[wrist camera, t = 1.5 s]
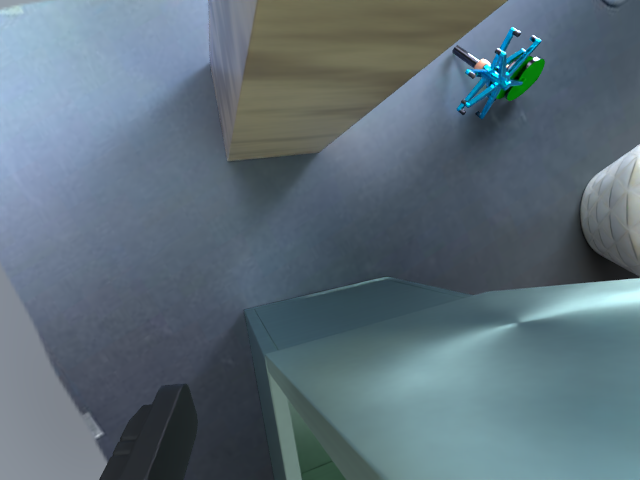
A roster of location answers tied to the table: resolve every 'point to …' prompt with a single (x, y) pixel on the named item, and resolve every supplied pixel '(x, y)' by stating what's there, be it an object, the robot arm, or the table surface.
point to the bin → (311, 324)
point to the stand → (320, 64)
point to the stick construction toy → (501, 73)
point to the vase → (615, 212)
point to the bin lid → (480, 388)
